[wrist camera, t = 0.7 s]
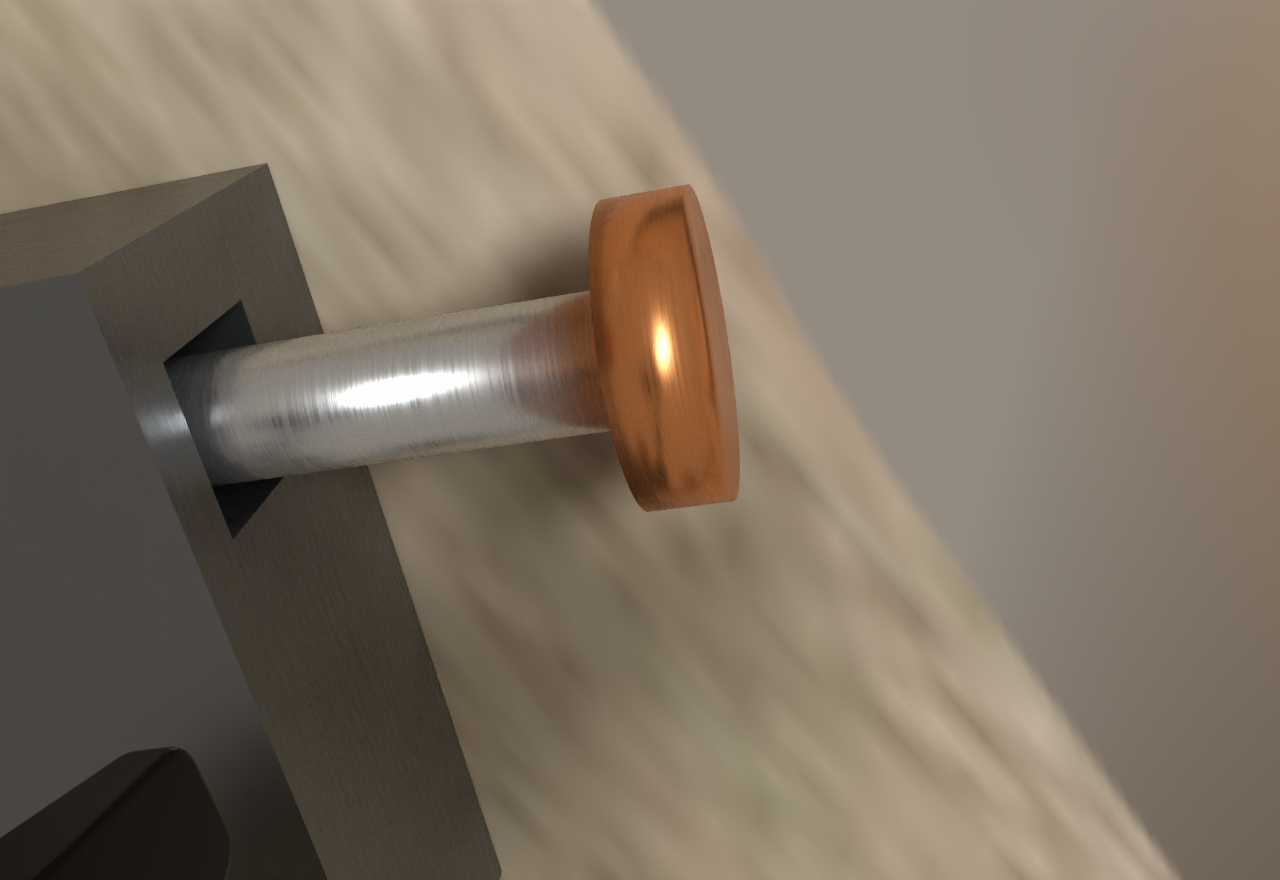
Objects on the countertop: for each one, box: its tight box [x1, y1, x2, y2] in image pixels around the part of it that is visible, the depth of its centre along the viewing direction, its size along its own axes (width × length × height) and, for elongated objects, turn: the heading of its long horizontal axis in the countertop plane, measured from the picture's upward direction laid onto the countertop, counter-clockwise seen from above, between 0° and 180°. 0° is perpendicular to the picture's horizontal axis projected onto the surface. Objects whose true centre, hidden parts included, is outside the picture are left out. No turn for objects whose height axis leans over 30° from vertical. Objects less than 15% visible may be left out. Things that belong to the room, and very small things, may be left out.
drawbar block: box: [0, 163, 502, 880], centre depth 21 cm, size 16×6×6 cm, turn 11°
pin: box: [163, 184, 740, 512], centre depth 18 cm, size 4×14×4 cm, turn 101°
